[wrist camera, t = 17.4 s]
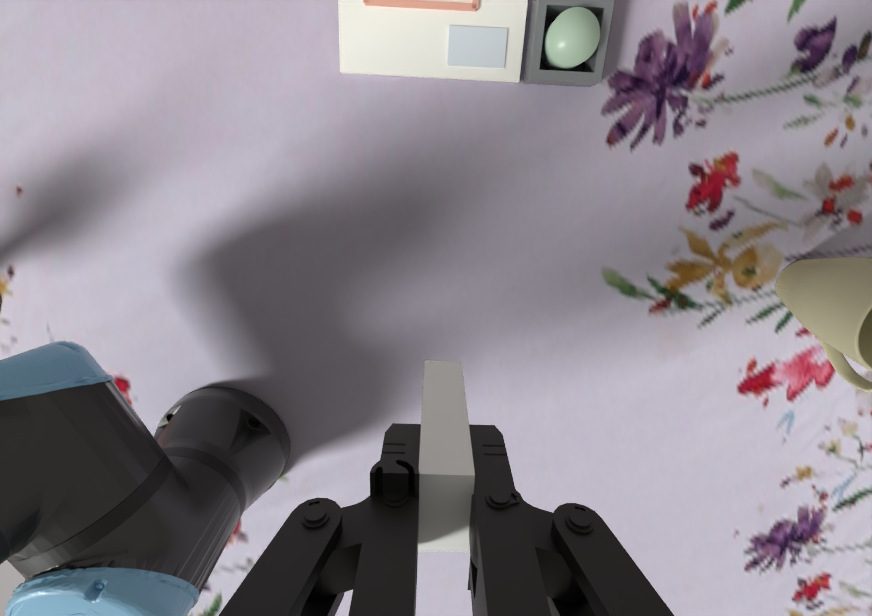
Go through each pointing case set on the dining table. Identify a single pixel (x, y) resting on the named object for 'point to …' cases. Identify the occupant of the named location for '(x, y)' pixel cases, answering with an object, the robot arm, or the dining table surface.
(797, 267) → the mug
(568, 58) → the button
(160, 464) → the robot arm
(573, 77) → the button housing
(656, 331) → the dining table surface
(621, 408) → the dining table surface
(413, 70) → the cream square board
